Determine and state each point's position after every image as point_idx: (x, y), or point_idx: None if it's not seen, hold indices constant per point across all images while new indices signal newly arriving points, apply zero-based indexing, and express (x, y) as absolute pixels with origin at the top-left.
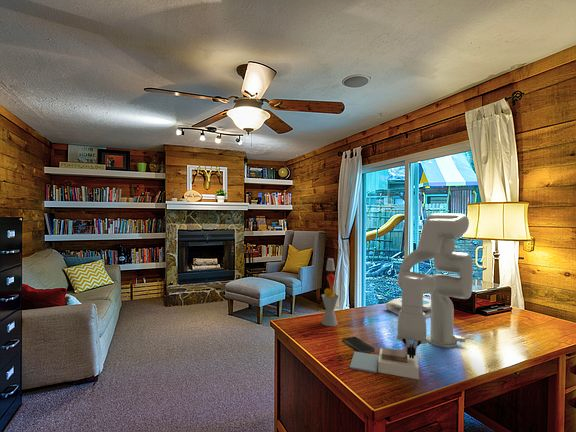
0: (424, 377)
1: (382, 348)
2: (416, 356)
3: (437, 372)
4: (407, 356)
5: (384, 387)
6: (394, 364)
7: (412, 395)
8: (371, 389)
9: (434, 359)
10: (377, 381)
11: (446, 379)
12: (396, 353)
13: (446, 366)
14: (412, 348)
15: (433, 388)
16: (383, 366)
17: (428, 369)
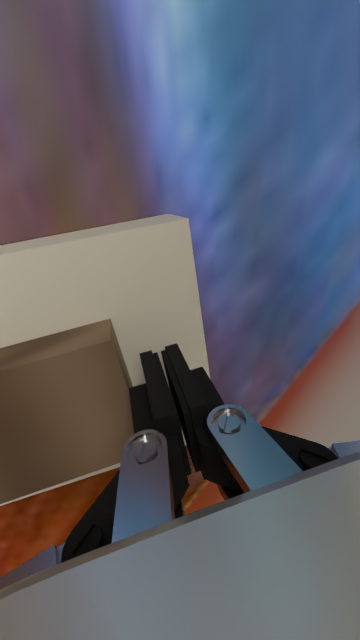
0: (221, 356)
1: None
2: (189, 274)
3: (286, 260)
4: (119, 320)
5: None
6: (73, 481)
7: (186, 499)
8: None
9: (291, 18)
10: (31, 514)
11: (317, 312)
12: (43, 445)
13: (352, 130)
14: (202, 472)
15: (256, 417)
16: None
17: (241, 250)
